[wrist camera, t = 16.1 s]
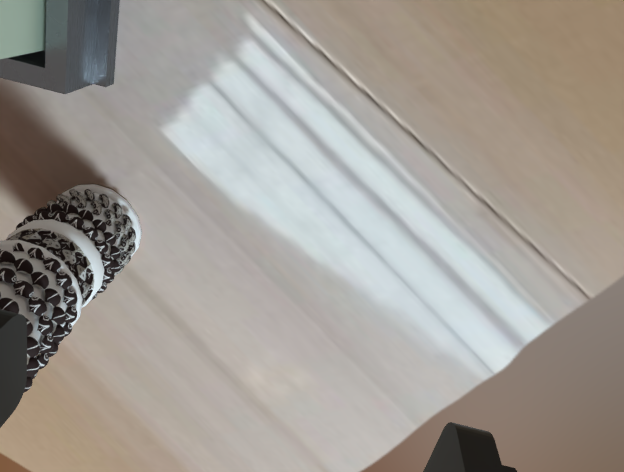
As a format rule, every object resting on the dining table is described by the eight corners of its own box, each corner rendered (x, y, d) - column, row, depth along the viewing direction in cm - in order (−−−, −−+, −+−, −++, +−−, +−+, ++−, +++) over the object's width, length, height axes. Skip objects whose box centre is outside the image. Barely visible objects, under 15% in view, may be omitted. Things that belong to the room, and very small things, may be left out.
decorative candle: (144, 186, 48) (-50, 365, 25) (147, 275, 52) (-19, 498, 29) (45, 172, 48) (-235, 338, 26) (55, 262, 52) (-180, 473, 30)
